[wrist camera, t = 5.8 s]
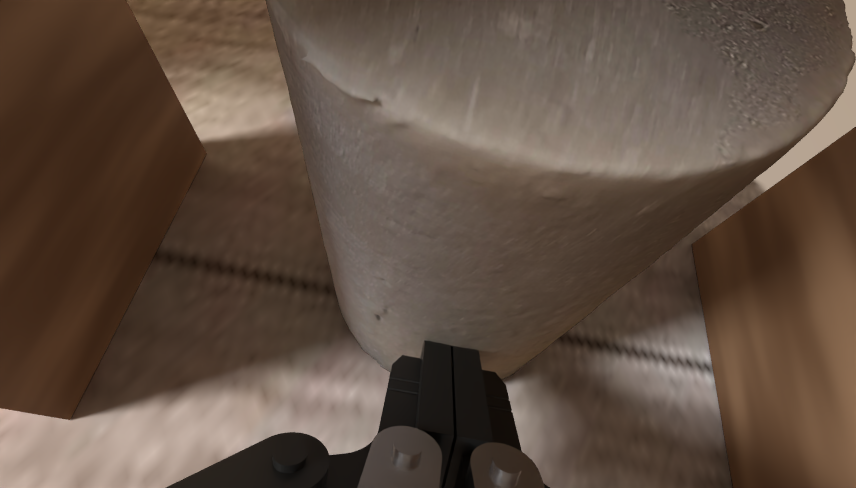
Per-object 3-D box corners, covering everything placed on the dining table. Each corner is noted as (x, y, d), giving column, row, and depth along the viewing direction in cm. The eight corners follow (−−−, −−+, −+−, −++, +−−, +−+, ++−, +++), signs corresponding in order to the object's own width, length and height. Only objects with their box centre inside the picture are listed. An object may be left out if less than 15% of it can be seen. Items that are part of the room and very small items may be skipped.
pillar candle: (587, 260, 20) (978, -147, 7) (480, 448, 16) (974, 301, 3) (419, 155, 22) (478, -314, 9) (282, 298, 18) (14, -209, 5)
